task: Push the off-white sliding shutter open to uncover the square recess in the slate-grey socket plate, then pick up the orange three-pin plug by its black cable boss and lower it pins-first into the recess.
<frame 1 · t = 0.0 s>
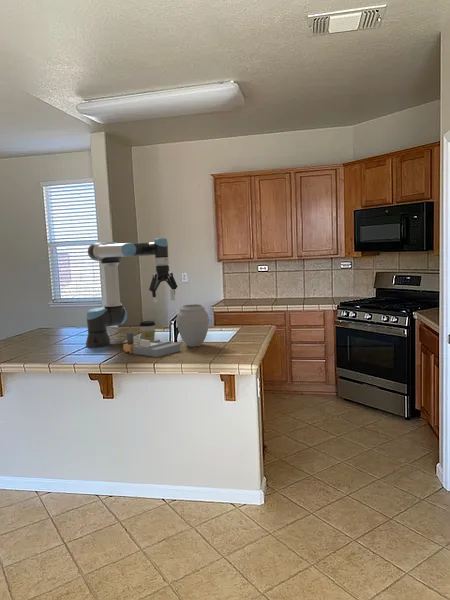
hand: (164, 301, 269), 28 cm above the worktop, fingers open, 13 cm apart
socket plate: (156, 351, 264), on the worktop
shutter: (149, 342, 263), point 6 cm above the worktop, slide at 0.0 cm
plug: (131, 351, 268), on the worktop
vase: (194, 346, 277), on the worktop
coffee cup: (148, 346, 282), on the worktop
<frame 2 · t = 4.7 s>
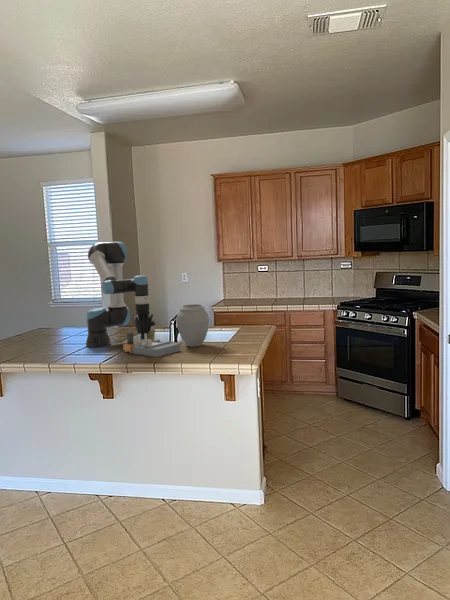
hand: (144, 344, 260), 5 cm above the worktop, fingers closed
shutter: (151, 341, 264), point 6 cm above the worktop, slide at 1.3 cm, touching gripper
everything else where it was.
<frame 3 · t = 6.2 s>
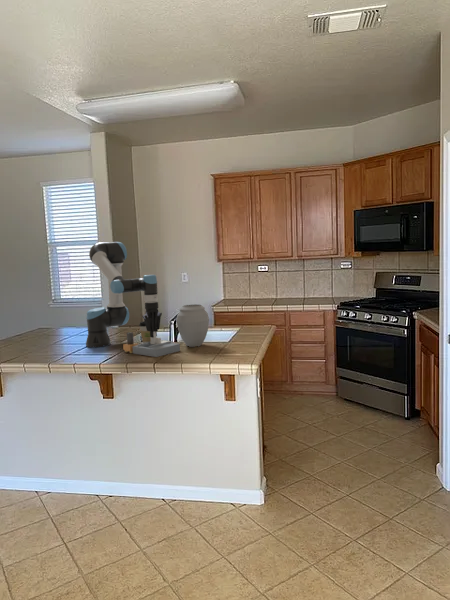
hand: (153, 342, 265), 5 cm above the worktop, fingers closed
shutter: (160, 339, 269), point 6 cm above the worktop, slide at 8.1 cm, touching gripper
everything else where it was.
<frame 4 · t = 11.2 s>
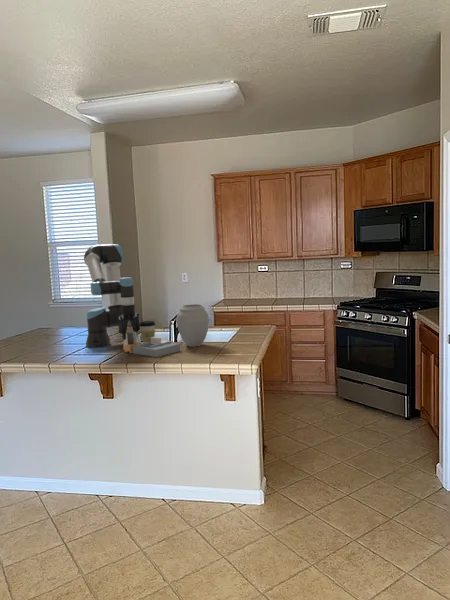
hand: (130, 343, 267), 5 cm above the worktop, fingers closed on plug, 6 cm apart
shutter: (160, 339, 269), point 6 cm above the worktop, slide at 8.2 cm
plug: (131, 351, 268), on the worktop, touching gripper
everything else where it was.
when the fingers open (6 cm above the worktop, at t = 15.8 s): plug stays where it is, resting in socket plate.
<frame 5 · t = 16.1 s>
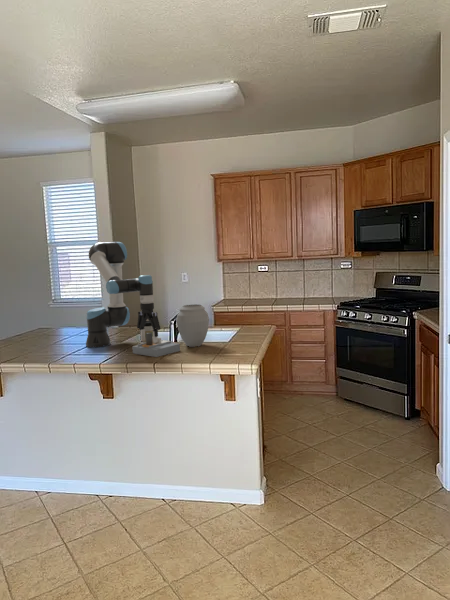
hand: (149, 341, 263), 6 cm above the worktop, fingers open, 10 cm apart
plug: (150, 352, 263), resting in socket plate
everything else where it was.
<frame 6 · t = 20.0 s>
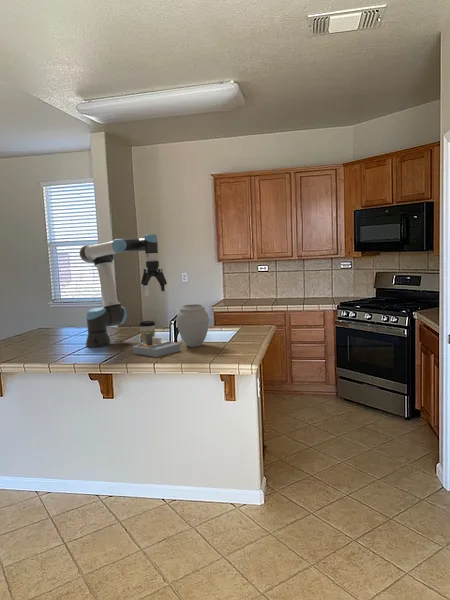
hand: (154, 296, 275), 31 cm above the worktop, fingers open, 13 cm apart
nothing on the worktop moved.
at the end: plug 0.1 cm from the target spot on the socket plate, point 0.0 cm above the socket plate's base; plug tilted 0°; shutter slide at 8.2 cm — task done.
